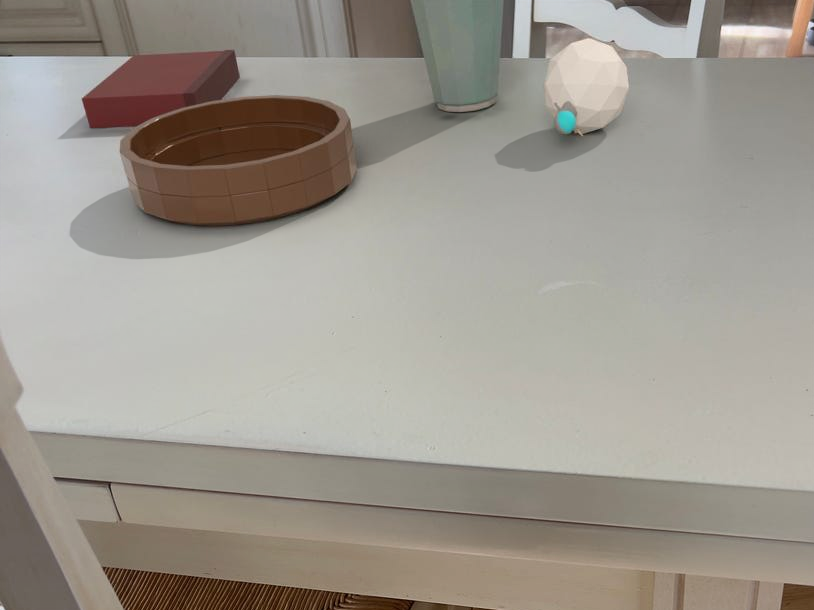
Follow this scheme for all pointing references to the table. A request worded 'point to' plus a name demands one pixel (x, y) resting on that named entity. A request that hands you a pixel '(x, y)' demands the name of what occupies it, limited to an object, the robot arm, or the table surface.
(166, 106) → the book
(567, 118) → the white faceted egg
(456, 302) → the table surface
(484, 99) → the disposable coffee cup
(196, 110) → the bowl
